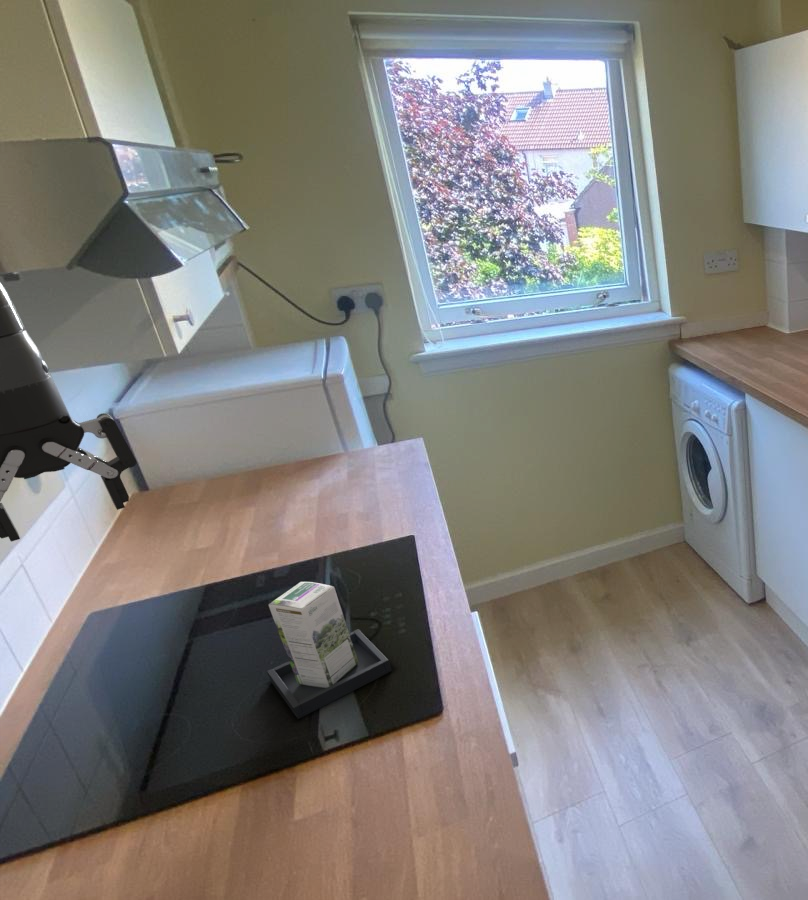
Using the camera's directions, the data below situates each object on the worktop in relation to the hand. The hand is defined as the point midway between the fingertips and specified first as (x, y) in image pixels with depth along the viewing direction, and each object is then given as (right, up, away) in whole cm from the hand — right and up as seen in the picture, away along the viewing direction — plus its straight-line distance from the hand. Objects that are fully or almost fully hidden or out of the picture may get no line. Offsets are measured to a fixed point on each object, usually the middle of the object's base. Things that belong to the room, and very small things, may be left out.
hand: (69, 522), depth 79 cm
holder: (+10, -26, +30) cm, 41 cm away
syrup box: (+10, -26, +29) cm, 40 cm away
